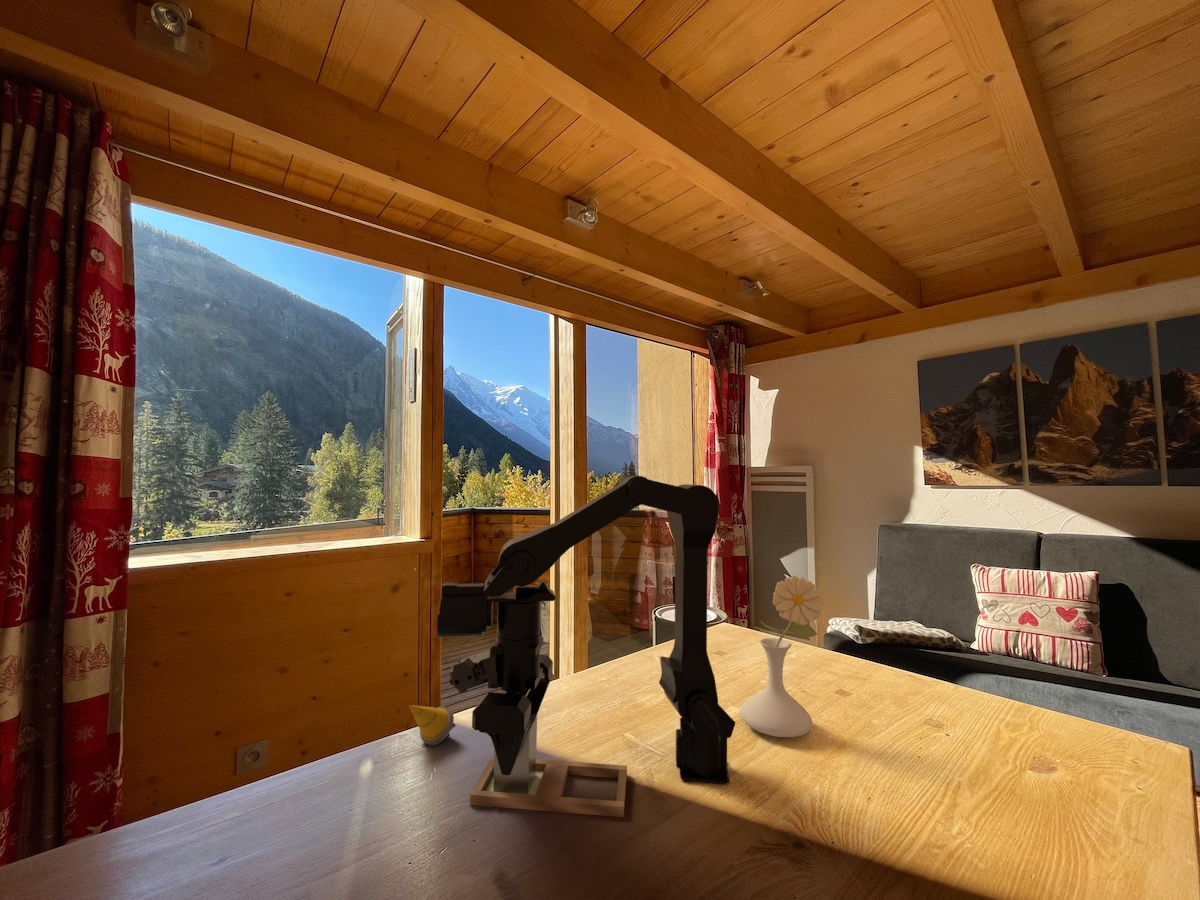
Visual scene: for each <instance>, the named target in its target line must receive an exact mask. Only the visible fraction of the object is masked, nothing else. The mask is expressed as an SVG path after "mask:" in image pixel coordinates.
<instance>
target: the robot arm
mask: <svg viewBox="0 0 1200 900" xmlns="http://www.w3.org/2000/svg"><path fill="white" fill-rule="evenodd" d="M639 506H646V507H648V508H654V509H656V510H657V509H658V510H661V511H665V512H666V514H667V522H668V527H669V530H670V533H671V536H672V540H673V543H674V546H675V566H674V567H675V568H674V569H675V572H674V575H675V576H674V579H675V580H674V581H675V582H674V583H675V584H674V587H675V588H674V644H673V648H672V650H671V652H670V655H669V657H668V656H661V657H660V658H659V660H660V661H659V662H660V666H661V667H660V668H661V675H660V679H659V681H658V684H659V685H660V687H661V688H662V690H663V692H664V696H666V698H667V699H668V701H669V702H670V703H671V705H672V706H673V707H674V709H675V711H677V713H678V714H679V717H680V718H679V728H677V729H676V730H675V764H676V768H677V769H679V777H680V778H679V779H681V781H684V782H685V781H686V782H689V781H690V782H701V783H712V784H713V783H714V784H726V785H727V784H729V783H730V775H729V772H728V739H730V738H731V737H732V735H733V732H734V729H735V726H736V721H735V720H734V719H733V718H732V717H731V716H730V715H729V714H728V713H727V711H726V710H724V708H723V707H722V706H721V705H720V704H719V697H718V689H717V684H716V678H715V674H714V671H713V668H712V665H711V662H710V659H709V655H708V646H707V645H708V644H707V643H708V563H709V562H708V561H709V560H708V552H709V547H710V545H711V542H712V541H713V538H714V536H715V533H716V530H717V525H718V521H719V514H720V510H721V509H720V507H721V506H720V499H719V497H718V495H717V494H716V493H715V492H714V491H713V489H711V488H710V487H708V486H707V485H702V484H689V483H688V484H686V483H685V484H679V485H674V484H669V483H665V482H659V481H657V480H653V479H648V478H647V477H645V476H642V475H630V476H627V477H624V478H623V480H621V482H619V483H618V484H617V485H615V486H614V487H612V488H609V490H607V491H605V492H603V493H602V494H600V495H599V496H597V497H595V498H593V499H592V500H590V501H589V502H587V503H585V504H583V505H582V506H580V507H578V508H577V509H575V510H573V511H572V512H571V513H569V514H567V515H565V516H564V517H562V518H560V519H559V520H557V521H555V522H554V523H551V524H548V525H546V526H543V527H540V528H537V529H533V530H531V531H528V532H526V533H523V534H520V535H518V536H515V537H512V538H510V539H509V540H507V542H505V543H504V544H503V545H502V547H501V549H500V552H499V555H498V563H497V565H496V566H495V568H494V569H493V570H492V572H491V573H490V574H487V578H486V579H485V583H484V582H483V583H479V582H478V583H457V582H444V583H443V585H442V586H441V596H440V597H441V598H440V604H439V611H438V613H437V621H436V622H437V623H436V624H437V625H436V627H437V631H436V632H437V637H438V638H463V637H464V638H465V637H466V638H467V637H469V638H470V637H483V636H484V633H486V632H487V631H488V630H487V629H489V628H493V627H492V626H493V604H494V603H497V615H496V616H497V619H496V620H497V621H496V623H497V625H496V641H495V643H494V644H493V645H492V646H491V647H490V649H487V650H484V651H481V652H478V653H476V654H472V655H469V656H467V657H464V658H462V659H460V660H457V661H456V663H454V664H453V667H452V668H451V671H450V672H449V675H450V679H449V681H448V682H449V685H451V686H453V687H454V689H456V690H457V693H458V694H461V693H463V694H464V693H465V692H467V691H468V690H470V689H473V688H476V687H480V686H481V685H486V684H487V689H494V690H495V689H498V688H500V690H501V691H503V692H492V691H491V692H487V694H486V695H484V697H483V698H482V699H481V700H480V701H479V703H477V704H476V707H475V708H474V709H473V710H472V717H471V718H472V719H471V729H473V730H474V731H478V732H479V733H481V734H486V735H488V736H489V737H490V739H491V742H492V745H493V749H494V750H495V752H496V756H497V759H498V763H499V767H500V770H501V774H502V775H510V774H511V772H512V769H513V767H514V764H515V761H516V759H517V756H518V753H519V751H520V748H521V745H522V743H523V740H524V737H525V735H526V732H527V729H528V727H529V724H530V720H529V719H530V714H537V715H538V714H539V710H540V708H541V705H542V702H543V700H544V698H545V696H546V693H547V691H548V687H549V686H550V683H551V678H552V676H553V675H554V674H553V671H554V670H553V669H554V667H553V666H554V663H553V662H554V661H553V660H552V658H551V657H550V656H549V655H547V654H541V649H542V647H543V646H544V637H543V636H541V620H542V619H541V617H542V616H541V615H542V614H541V613H542V602H554V601H555V600H556V599H557V597H556V594H555V593H554V590H553V589H551V588H550V587H549V586H548V585H547V583H546V582H545V580H544V579H541V580H540V581H539V582H538V583H537V584H536V585H532V586H531V584H533V583H534V582H537V580H538V579H539V578H540V577H542V576H543V575H544V574H545V573H546V572H547V571H549V569H551V568H552V567H553V566H554V565H555V563H556V562H558V561H559V560H560V558H561V557H562V556H563V555H565V553H566V552H568V551H569V549H571V548H573V547H574V546H576V545H577V544H579V543H581V542H582V541H584V540H585V539H586V538H588V537H590V536H592V535H593V534H595V533H596V532H598V531H600V530H602V529H603V528H605V527H606V526H608V525H610V524H611V523H613V522H614V521H616V520H618V519H619V518H621V517H623V516H624V515H626V514H627V513H629V512H631V511H632V510H634V509H635V508H637V507H639ZM513 588H515V589H514V591H510V590H512V589H513ZM509 591H510V592H509ZM543 674H544V675H543ZM543 676H544V678H543Z"/></svg>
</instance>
